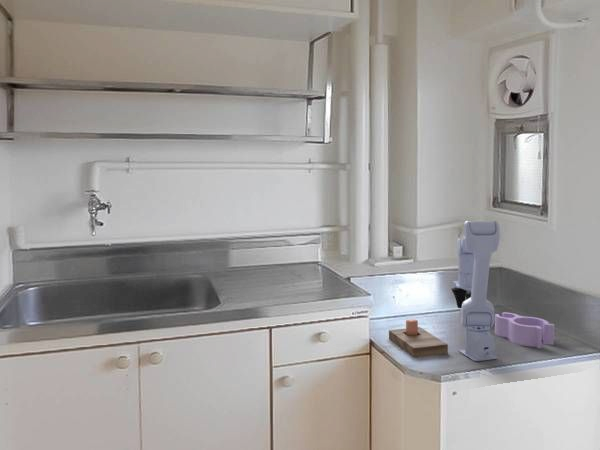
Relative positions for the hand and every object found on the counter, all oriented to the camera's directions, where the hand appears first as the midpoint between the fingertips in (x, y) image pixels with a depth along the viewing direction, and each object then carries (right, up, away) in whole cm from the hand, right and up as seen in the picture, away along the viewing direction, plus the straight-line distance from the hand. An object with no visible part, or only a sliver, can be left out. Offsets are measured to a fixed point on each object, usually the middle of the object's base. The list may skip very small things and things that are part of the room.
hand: (466, 310), depth 194 cm
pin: (-20, -10, -4) cm, 23 cm away
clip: (+19, -10, -3) cm, 21 cm away
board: (-19, -11, -8) cm, 23 cm away
